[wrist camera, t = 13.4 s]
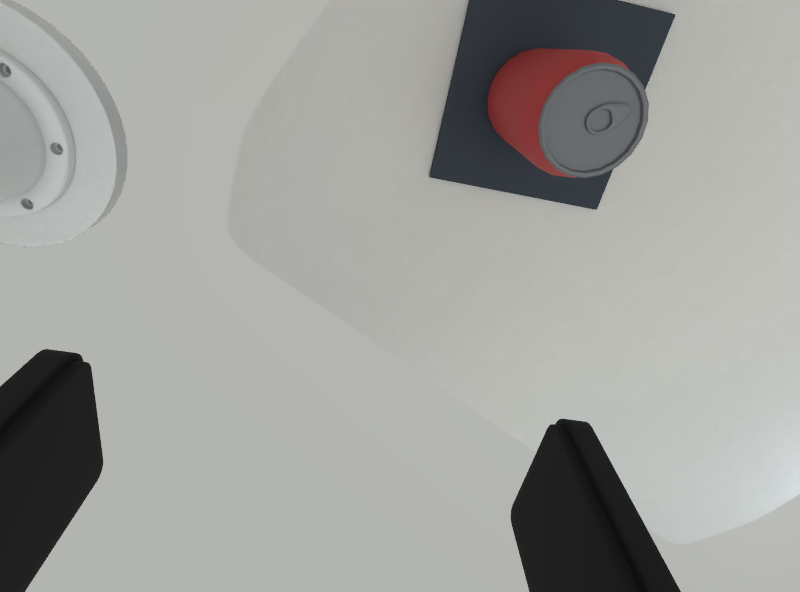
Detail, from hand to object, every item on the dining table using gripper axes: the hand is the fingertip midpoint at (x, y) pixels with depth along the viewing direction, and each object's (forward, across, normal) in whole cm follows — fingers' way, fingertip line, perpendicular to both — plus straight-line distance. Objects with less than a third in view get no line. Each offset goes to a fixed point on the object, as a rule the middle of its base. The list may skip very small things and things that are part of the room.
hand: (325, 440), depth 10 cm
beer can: (+30, -11, -6) cm, 32 cm away
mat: (+30, -12, -6) cm, 33 cm away
